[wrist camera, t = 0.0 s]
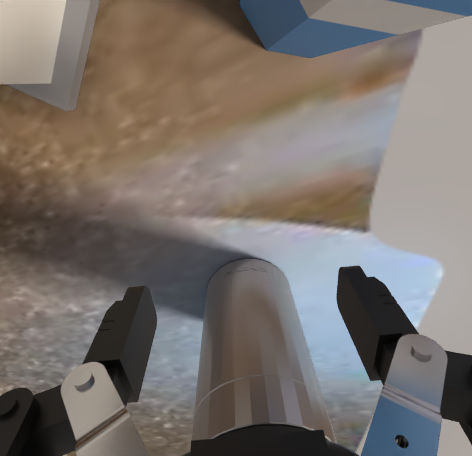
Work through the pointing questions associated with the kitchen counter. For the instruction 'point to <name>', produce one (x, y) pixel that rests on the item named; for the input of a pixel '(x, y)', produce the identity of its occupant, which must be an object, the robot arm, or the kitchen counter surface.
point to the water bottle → (342, 21)
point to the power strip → (46, 47)
